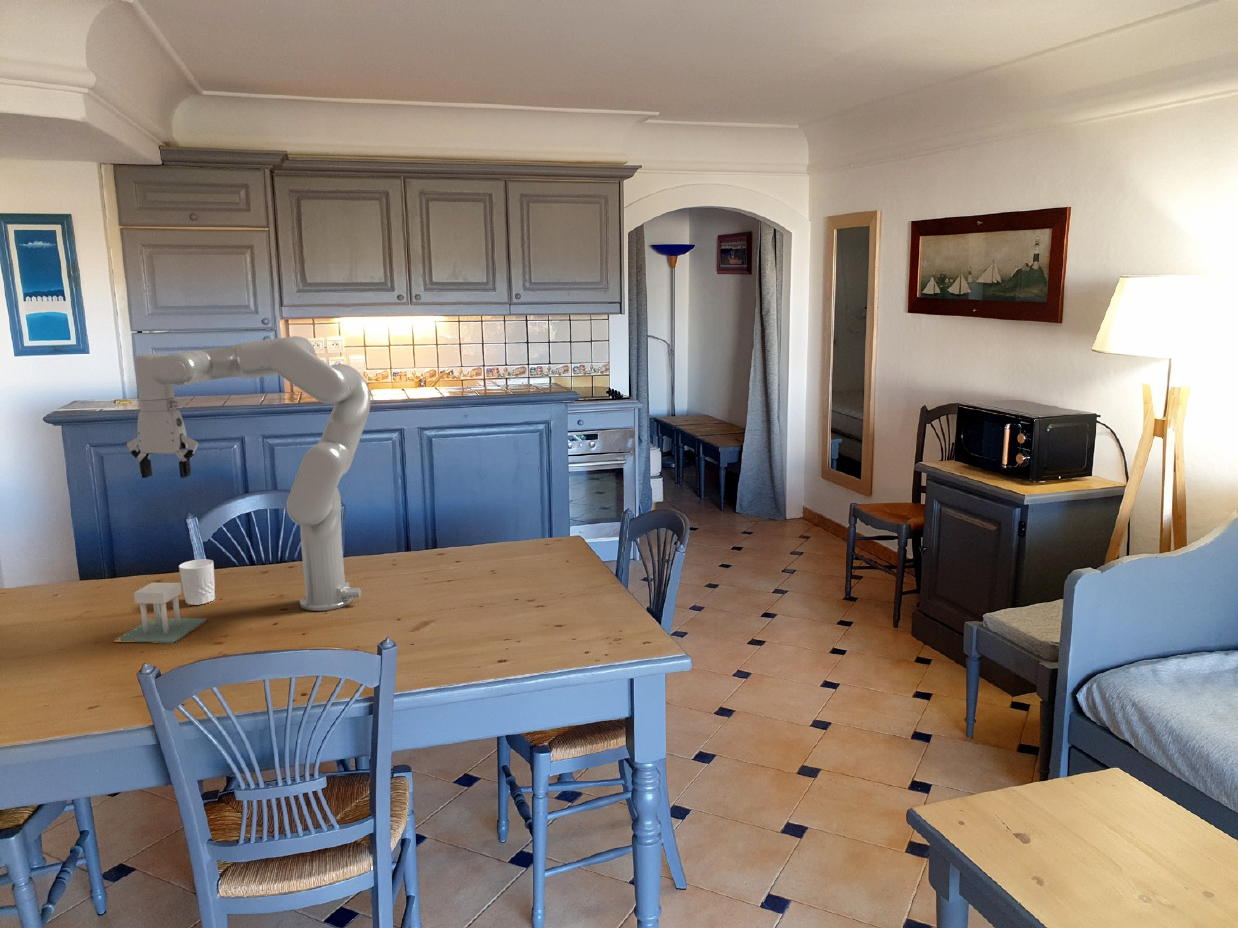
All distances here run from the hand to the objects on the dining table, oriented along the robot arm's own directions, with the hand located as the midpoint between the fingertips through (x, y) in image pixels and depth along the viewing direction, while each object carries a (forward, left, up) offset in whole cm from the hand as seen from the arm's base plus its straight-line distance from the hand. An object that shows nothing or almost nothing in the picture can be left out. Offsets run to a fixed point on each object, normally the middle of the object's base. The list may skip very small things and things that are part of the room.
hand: (166, 476), depth 216 cm
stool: (-4, +15, -33) cm, 36 cm away
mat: (-4, +15, -33) cm, 37 cm away
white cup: (-2, -5, -34) cm, 34 cm away
